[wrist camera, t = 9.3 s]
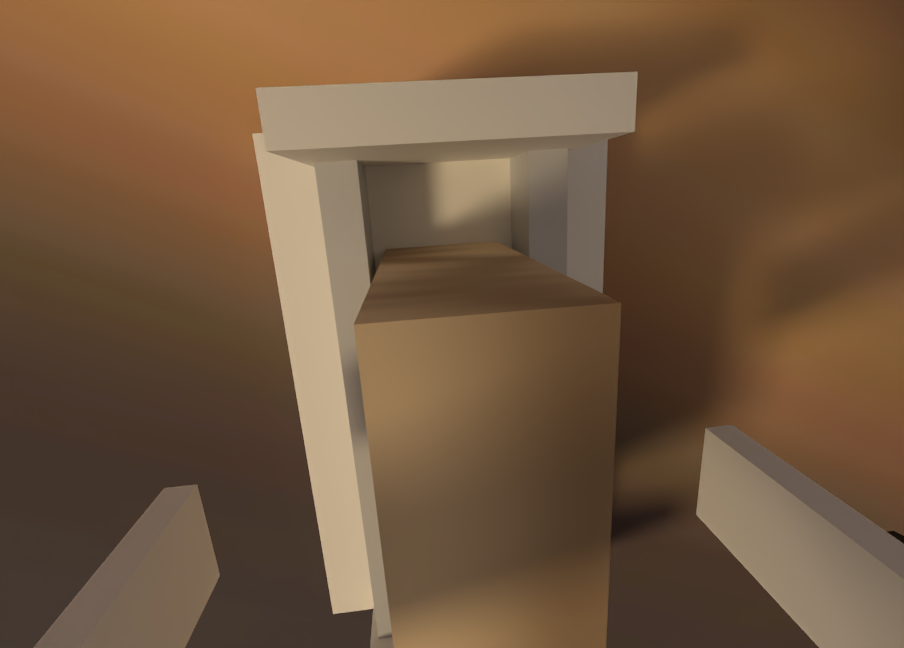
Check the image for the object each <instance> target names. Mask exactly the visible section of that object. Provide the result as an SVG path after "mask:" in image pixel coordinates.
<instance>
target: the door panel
mask: <svg viewBox="0 0 904 648" xmlns="http://www.w3.org/2000/svg"><path fill="white" fill-rule="evenodd" d="M621 304H622V303H621V302H619V301H617V300H615V299H613V298H611V297H609V296H607V295H605V294H603V293H601V292H599V291H597V290H595V289H593V288H591V287H589V286H587V285H585V284H582V283H580V282H578V281H576V280H574V279H572V278H570V277H568V276H566V275H564V274H562V273H560V272H558V271H556V270H554V269H552V268H550V267H548V266H546V265H544V264H542V263H540V262H538V261H536V260H534V259H532V258H530V257H527V256H525V255H523V254H521V253H519V252H517V251H515V250H513V249H511V248H509V247H507V246H505V245H503V244H501V243H499V242H497V241H494V242H480V243H466V244H451V245H437V246H423V247H408V248H394V249H386V250H385V253H384V255H383V257H382V260H381V262H380V264H379V267H378V269H377V271H376V274H375V276H374V278H373V281H372V283H371V285H370V288H369V290H368V292H367V295H366V297H365V299H364V301H363V304H362V306H361V308H360V311H359V313H358V315H357V318H356V320H355V322H354V332H355V341H356V349H357V357H358V365H359V373H360V381H361V389H362V397H363V405H364V413H365V421H366V429H367V437H368V445H369V453H370V461H371V469H372V477H373V485H374V493H375V501H376V509H377V517H378V525H379V533H380V542H381V550H382V558H383V566H384V574H385V582H386V590H387V598H388V606H389V614H390V622H391V630H392V638H393V646H394V648H606V635H607V613H608V591H609V569H610V547H611V525H612V502H613V480H614V458H615V436H616V414H617V392H618V370H619V348H620V326H621Z"/></svg>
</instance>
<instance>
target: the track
mask: <svg viewBox="0 0 904 648" xmlns="http://www.w3.org/2000/svg"><path fill="white" fill-rule="evenodd" d="M637 77H638V72H616V73H592V74H569V75H545V76H522V77H499V78H475V79H452V80H428V81H405V82H382V83H358V84H335V85H312V86H288V87H265V88H256V94H257V100H258V106H259V112H260V118H261V125H262V131H263V133H256V134H253V140H254V146H255V152H256V158H257V164H258V170H259V176H260V182H261V188H262V194H263V200H264V206H265V211H266V217H267V223H268V229H269V235H270V241H271V247H272V253H273V259H274V265H275V271H276V277H277V283H278V289H279V295H280V301H281V307H282V312H283V318H284V324H285V330H286V336H287V342H288V348H289V354H290V360H291V366H292V372H293V378H294V384H295V390H296V396H297V402H298V408H299V414H300V419H301V425H302V431H303V437H304V443H305V449H306V455H307V461H308V467H309V473H310V479H311V485H312V491H313V497H314V503H315V509H316V515H317V521H318V526H319V532H320V538H321V544H322V550H323V556H324V562H325V568H326V574H327V580H328V586H329V592H330V598H331V604H332V610H333V614H336V613H344V612H351V611H359V610H367V609H373V620H372V632H371V643H370V648H394V646H393V638H392V630H391V622H390V614H389V606H388V598H387V590H386V582H385V574H384V566H383V558H382V550H381V542H380V533H379V525H378V517H377V509H376V501H375V493H374V485H373V477H372V469H371V461H370V453H369V445H368V437H367V429H366V421H365V413H364V405H363V397H362V389H361V381H360V373H359V365H358V357H357V349H356V341H355V332H354V322H355V320H356V318H357V315H358V313H359V311H360V308H361V306H362V304H363V301H364V299H365V297H366V295H367V292H368V290H369V288H370V285H371V283H372V281H373V278H374V276H375V274H376V271H377V269H378V267H379V264H380V262H381V260H382V257H383V255H384V253H385V250H386V249H394V248H408V247H423V246H437V245H451V244H466V243H480V242H494V241H497V242H499V243H501V244H503V245H505V246H507V247H509V248H511V249H513V250H515V251H517V252H519V253H521V254H523V255H525V256H527V257H530V258H532V259H534V260H536V261H538V262H540V263H542V264H544V265H546V266H548V267H550V268H552V269H554V270H556V271H558V272H560V273H562V274H564V275H566V276H568V277H570V278H572V279H574V280H576V281H578V282H580V283H582V284H585V285H587V286H589V287H591V288H593V289H595V290H597V291H599V292H601V293H603V271H604V241H605V211H606V180H607V150H608V139H612V138H615V137H619V136H622V135H625V134H629V133H632V132H635V118H636V97H637Z"/></svg>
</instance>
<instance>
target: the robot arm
mask: <svg viewBox="0 0 904 648" xmlns="http://www.w3.org/2000/svg"><path fill="white" fill-rule="evenodd" d="M696 515H697V516H698V517H699V518H700V519H701V520H702V521H703V522H704V523H705V525H706V526H707V527H708V528H709V529H710V530H711V531H712V532H713V533H714V534H715V535H716V536H717V538H718V539H719V540H720V541H721V542H722V543H723V544H724V545H725V546H726V547H727V548H728V549H729V551H730V552H731V553H732V554H733V555H734V556H735V557H736V558H737V559H738V560H739V561H740V562H741V564H742V565H743V566H744V567H745V568H746V569H747V570H748V571H749V572H750V573H751V574H752V575H753V577H754V578H755V579H756V580H757V581H758V582H759V583H760V584H761V585H762V586H763V587H764V588H765V590H766V591H767V592H768V593H769V594H770V595H771V596H772V597H773V598H774V599H775V600H776V601H777V602H778V604H779V605H780V606H781V607H782V608H783V609H784V610H785V611H786V612H787V613H788V614H789V615H790V617H791V618H792V619H793V620H794V621H795V622H796V623H797V624H798V625H799V626H800V627H801V628H802V630H803V631H804V632H805V633H806V634H807V635H808V636H809V637H810V638H811V639H812V640H813V641H814V643H815V644H816V645H817V646H818V647H819V648H904V536H903V535H901V534H899V533H896V532H894V531H889V532H886V531H885V530H883V529H882V528H880V527H879V526H877V525H876V524H875V523H873V522H872V521H870V520H869V519H867V518H866V517H864V516H863V515H862V514H860V513H859V512H857V511H856V510H854V509H853V508H851V507H850V506H849V505H847V504H846V503H844V502H843V501H841V500H840V499H838V498H837V497H836V496H834V495H833V494H831V493H830V492H828V491H827V490H825V489H824V488H823V487H821V486H820V485H818V484H817V483H815V482H814V481H812V480H811V479H810V478H808V477H807V476H805V475H804V474H802V473H801V472H799V471H798V470H797V469H795V468H794V467H792V466H791V465H789V464H788V463H786V462H785V461H784V460H782V459H781V458H779V457H778V456H776V455H775V454H773V453H772V452H771V451H769V450H768V449H766V448H765V447H763V446H762V445H760V444H759V443H758V442H756V441H755V440H753V439H752V438H750V437H749V436H747V435H746V434H745V433H743V432H742V431H740V430H739V429H737V428H736V427H734V426H733V425H728V426H719V427H710V428H705V437H704V447H703V456H702V465H701V474H700V483H699V493H698V502H697V511H696ZM219 576H220V574H219V570H218V566H217V562H216V558H215V554H214V550H213V546H212V542H211V538H210V534H209V530H208V526H207V522H206V518H205V514H204V510H203V506H202V502H201V498H200V494H199V490H198V486H197V485H188V486H179V487H170V488H164V489H163V490H162V491H161V493H160V494H159V495H158V496H157V498H156V499H155V500H154V501H153V502H152V504H151V505H150V506H149V507H148V509H147V510H146V511H145V512H144V513H143V515H142V516H141V517H140V518H139V520H138V521H137V522H136V523H135V524H134V526H133V527H132V528H131V529H130V531H129V532H128V533H127V534H126V535H125V537H124V538H123V539H122V540H121V542H120V543H119V544H118V545H117V546H116V548H115V549H114V550H113V551H112V553H111V554H110V555H109V556H108V557H107V559H106V560H105V561H104V562H103V563H102V565H101V566H100V567H99V568H98V570H97V571H96V572H95V573H94V574H93V576H92V577H91V578H90V579H89V581H88V582H87V583H86V584H85V585H84V587H83V588H82V589H81V590H80V592H79V593H78V594H77V595H76V596H75V598H74V599H73V600H72V601H71V603H70V604H69V605H68V606H67V607H66V609H65V610H64V611H63V612H62V614H61V615H60V616H59V617H58V618H57V620H56V621H55V622H54V623H53V625H52V626H51V627H50V628H49V629H48V631H47V632H46V633H45V634H44V636H43V637H42V638H41V639H40V640H39V642H38V643H37V644H36V645H35V647H34V648H185V647H186V644H187V642H188V640H189V638H190V636H191V634H192V632H193V630H194V628H195V626H196V624H197V622H198V620H199V618H200V616H201V613H202V611H203V609H204V607H205V605H206V603H207V601H208V599H209V597H210V595H211V593H212V591H213V589H214V587H215V584H216V582H217V580H218V578H219Z"/></svg>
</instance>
